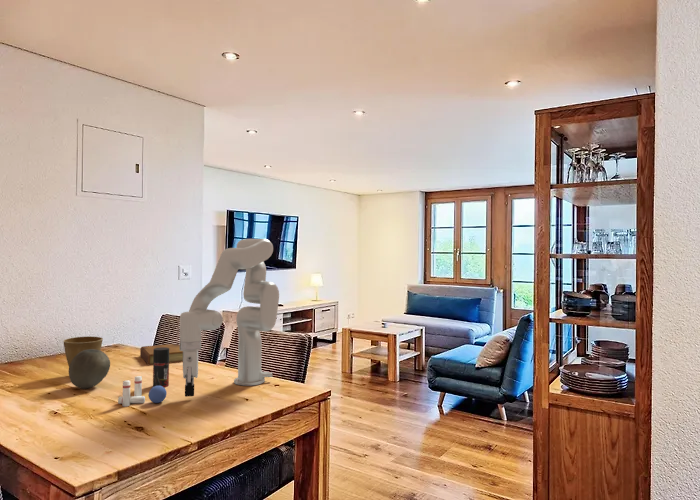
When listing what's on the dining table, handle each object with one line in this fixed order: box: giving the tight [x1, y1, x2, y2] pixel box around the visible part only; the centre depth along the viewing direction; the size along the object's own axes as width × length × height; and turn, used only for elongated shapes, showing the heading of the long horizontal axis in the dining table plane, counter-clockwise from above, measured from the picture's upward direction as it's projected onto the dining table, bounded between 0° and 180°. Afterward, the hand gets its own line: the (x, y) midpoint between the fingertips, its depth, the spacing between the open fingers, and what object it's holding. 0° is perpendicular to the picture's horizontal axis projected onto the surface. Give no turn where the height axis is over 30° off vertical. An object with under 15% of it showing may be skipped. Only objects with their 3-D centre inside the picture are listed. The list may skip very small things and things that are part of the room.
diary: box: [139, 343, 183, 366], centre depth 246 cm, size 23×19×6 cm
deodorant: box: [152, 347, 170, 388], centre depth 196 cm, size 6×6×15 cm
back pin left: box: [122, 379, 131, 408], centre depth 170 cm, size 2×2×8 cm
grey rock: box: [68, 349, 111, 390], centre depth 192 cm, size 14×14×15 cm
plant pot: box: [63, 336, 104, 367], centre depth 209 cm, size 15×15×16 cm
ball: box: [148, 386, 168, 404], centre depth 174 cm, size 6×6×6 cm
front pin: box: [117, 395, 146, 405], centre depth 172 cm, size 2×2×8 cm
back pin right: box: [133, 375, 143, 396], centre depth 176 cm, size 2×2×8 cm
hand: (189, 395), depth 178 cm, fingers closed
